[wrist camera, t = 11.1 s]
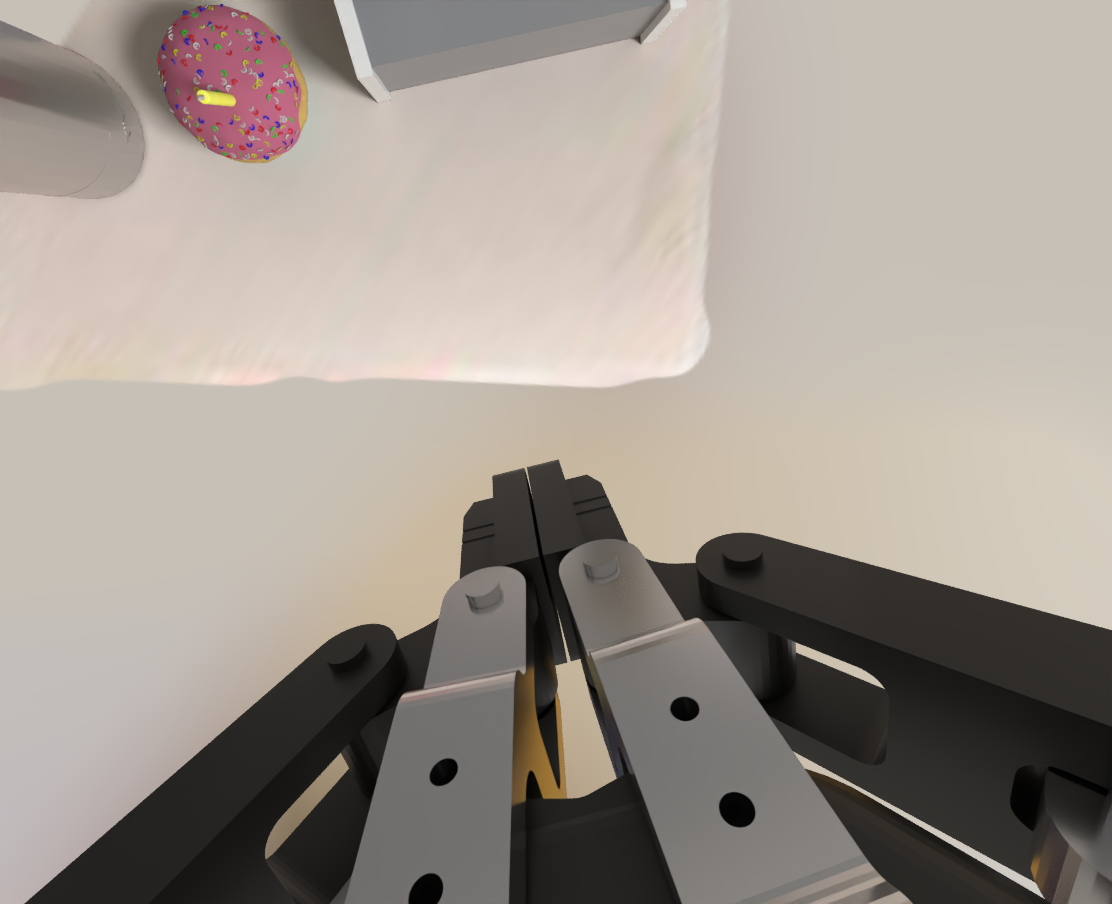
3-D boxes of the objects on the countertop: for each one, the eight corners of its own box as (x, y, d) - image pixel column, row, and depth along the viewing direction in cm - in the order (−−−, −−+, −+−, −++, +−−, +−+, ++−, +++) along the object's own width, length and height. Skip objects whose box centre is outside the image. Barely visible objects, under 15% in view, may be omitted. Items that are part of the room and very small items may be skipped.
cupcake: (346, 143, 40) (295, 112, 29) (243, 188, 41) (154, 174, 30) (281, 8, 37) (196, -84, 26) (169, 58, 37) (38, -12, 26)
